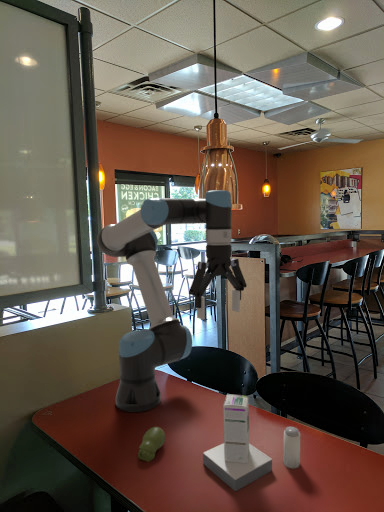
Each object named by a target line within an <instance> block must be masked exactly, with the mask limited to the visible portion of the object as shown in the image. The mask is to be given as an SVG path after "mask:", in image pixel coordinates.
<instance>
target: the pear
mask: <svg viewBox="0 0 384 512" xmlns="http://www.w3.org/2000/svg"><path fill="white" fill-rule="evenodd" d="M141 441H142V442H141V444H140V445H139V447H138V449H139V451H138V453H137V456H138V459H139V460H142V461H145V462H152V460H154V459H155V457H156V452H157V450H159V449H160V448H162V446H163V445H164V443H165V442H166V434H165V432H164V430H163V429H162V428H161V427H159V426H153V427H150V428H149V429H147V431H146V432H145V433H144V435H143V436H142V440H141Z"/></svg>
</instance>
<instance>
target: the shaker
mask: <svg viewBox="0 0 384 512" xmlns="http://www.w3.org/2000/svg"><path fill="white" fill-rule="evenodd" d="M282 458H283V459H282V460H283V465H284V466H285V467H286V468H289V469H297V468H298V469H299V467H300V464H301V432H300V430H299V429H298V428H297V427H295V426H286V427H285V429H284V431H283V457H282Z"/></svg>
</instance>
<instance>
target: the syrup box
mask: <svg viewBox="0 0 384 512" xmlns="http://www.w3.org/2000/svg"><path fill="white" fill-rule="evenodd" d="M249 407H250V405H249V396H247V395H242V394H226V396H225V399H224V402H223V407H222V408H223V441H224V442H223V443H224V457H225V461H227V462H234V463H243V464H248V458H249V444H250V419H249V418H250V417H249V416H250V415H249V413H250V412H249Z"/></svg>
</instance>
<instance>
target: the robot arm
mask: <svg viewBox="0 0 384 512" xmlns="http://www.w3.org/2000/svg"><path fill="white" fill-rule="evenodd" d="M204 196H205V197H204V198H172V197H171V198H169V197H168V198H167V197H166V198H165V197H153V198H147V199H145V200H143V202H142V204H141V206H140V209H139V210H137V211H136V212H134V213H132V214H130V215H129V216H127V217H125V218H124V219H122V220H120V221H119V222H117V223H115V224H112V223H111V224H107V225H106V226H105V227H102V228H101V230H100V231H99V232H98V234H97V236H96V243H97V247H98V249H99V250H100V252H101V253H103V254H104V255H106V256H108V257H112V258H121V257H123V258H124V257H125V261H126V263H127V264H128V265H130V266H132V269H133V272H134V275H135V278H136V279H135V280H136V282H137V285H138V288H139V291H140V294H141V297H142V300H143V303H144V306H145V309H146V312H147V316H148V319H149V323H150V326H149V329H146V328H145V329H135V330H132V331H130V332H127V333H125V334H124V335H122V337H121V338H119V345H118V357H119V358H118V359H119V376H120V377H119V384H118V388H117V391H116V395H115V406H116V407H117V408H118V409H119V410H121V411H124V412H129V413H141V412H146V411H147V412H148V411H150V410H153V409H154V408H156V407H157V406H159V405H160V404H161V400H162V399H161V398H162V397H161V396H162V394H161V389H160V387H159V385H158V381H157V379H156V368H157V367H162V366H164V365H167V364H171V363H174V362H180V360H183V359H185V358H187V357H188V356H189V355H190V354H191V351H192V347H193V336H192V333H191V331H190V329H189V328H188V327H187V326H186V325H181V322H180V319H178V318H176V317H175V316H174V315H173V311H172V307H171V306H170V302H169V300H168V297H167V294H166V291H165V287H164V285H163V282H162V280H161V277H160V273H159V269H158V268H157V267H158V266H157V265H156V261H155V257H156V256H157V251H158V247H159V244H158V243H159V240H158V236H157V234H156V233H157V232H155V230H157V229H159V228H162V227H163V226H166V225H183V224H184V225H185V224H187V225H189V224H191V225H193V224H205V243H206V244H207V245H206V246H205V256H206V259H207V260H206V262H205V261H198V262H197V268H196V272H195V275H194V278H193V280H192V283H191V286H190V287H189V290H188V295H191V296H194V307H195V308H196V318H198V319H200V320H205V318H206V315H205V314H206V311H205V310H206V307H205V306H206V305H205V303H206V301H205V300H206V298H205V296H204V295H205V292H206V290H207V288H208V287H209V286H210V284H211V282H212V281H213V279H215V278H216V277H220V276H225V277H226V279H227V280H228V282H229V283H230V285H231V286H232V287H233V289H232V291H231V293H232V297H231V298H232V299H231V300H232V303H231V305H232V306H231V307H232V308H231V310H232V311H233V312H236V313H240V312H241V301H242V292H243V291H244V290H245V288H247V285H248V284H247V283H246V280H245V277H244V274H243V272H242V269H241V267H240V260H239V258H234V257H233V258H231V257H232V253H233V251H232V249H233V248H232V247H233V246H232V244H230V243H232V209H233V208H232V207H233V203H232V194H231V191H229V190H225V189H224V190H222V189H219V190H216V189H215V190H208V191H206V192H205V195H204ZM230 267H231V268H230Z"/></svg>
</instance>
